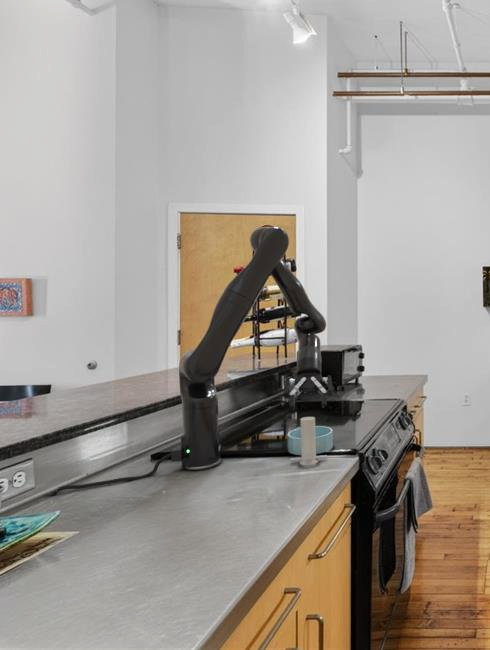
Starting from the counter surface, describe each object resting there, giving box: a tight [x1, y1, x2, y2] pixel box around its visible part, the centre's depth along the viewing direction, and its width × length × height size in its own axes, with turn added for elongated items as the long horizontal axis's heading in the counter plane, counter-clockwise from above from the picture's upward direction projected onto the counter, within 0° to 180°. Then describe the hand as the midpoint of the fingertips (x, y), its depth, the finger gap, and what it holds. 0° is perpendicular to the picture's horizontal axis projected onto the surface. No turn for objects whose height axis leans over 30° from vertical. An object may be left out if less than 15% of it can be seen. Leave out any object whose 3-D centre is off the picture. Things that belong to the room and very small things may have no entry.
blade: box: [289, 416, 328, 466], centre depth 133 cm, size 10×9×13 cm
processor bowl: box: [286, 425, 334, 456], centre depth 146 cm, size 14×14×6 cm
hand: (308, 407), depth 139 cm, fingers open, 8 cm apart
